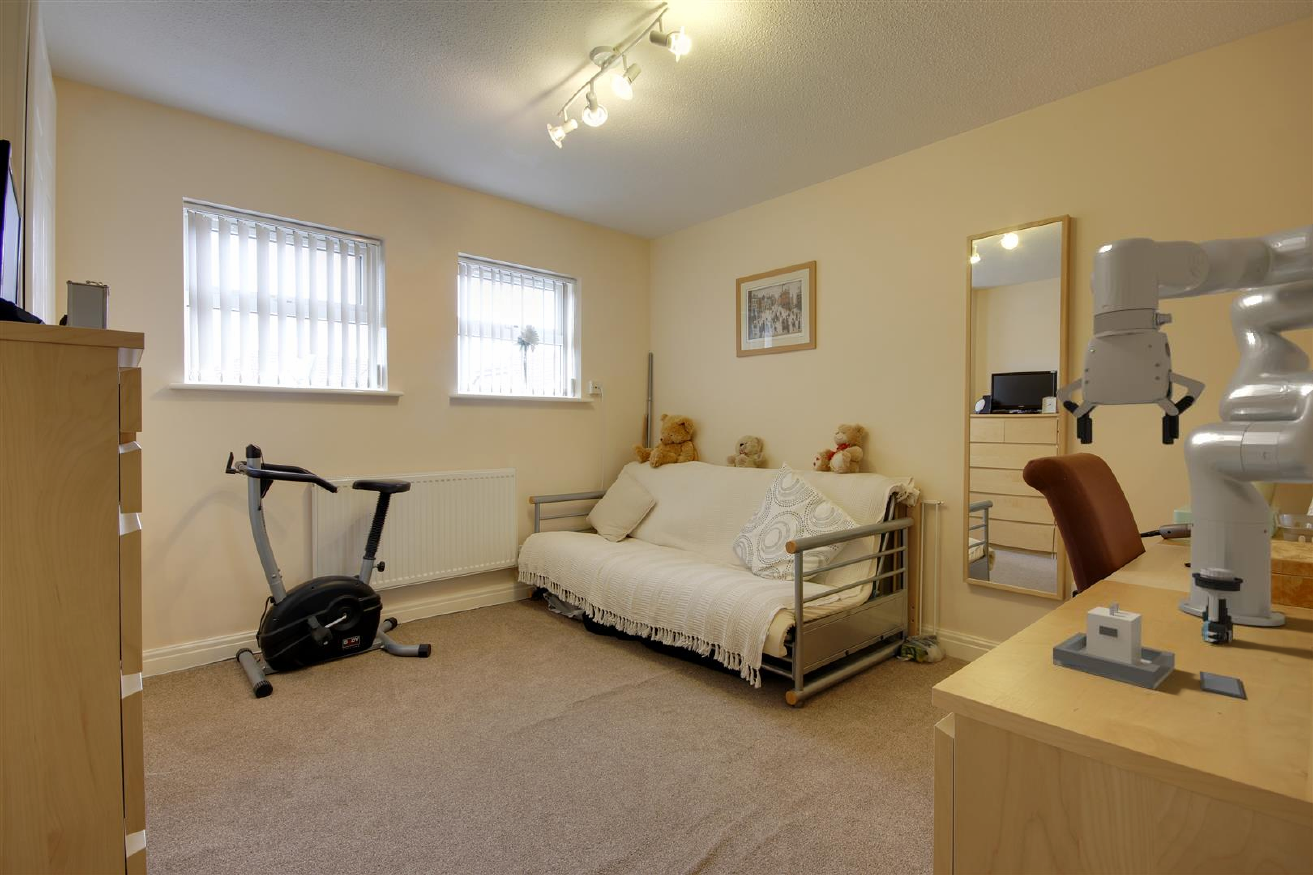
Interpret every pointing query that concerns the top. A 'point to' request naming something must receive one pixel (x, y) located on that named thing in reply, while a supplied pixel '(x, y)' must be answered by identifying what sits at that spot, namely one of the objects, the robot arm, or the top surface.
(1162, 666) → the dock
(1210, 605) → the push button
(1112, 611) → the charger
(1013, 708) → the top surface
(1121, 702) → the top surface
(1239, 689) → the phone
